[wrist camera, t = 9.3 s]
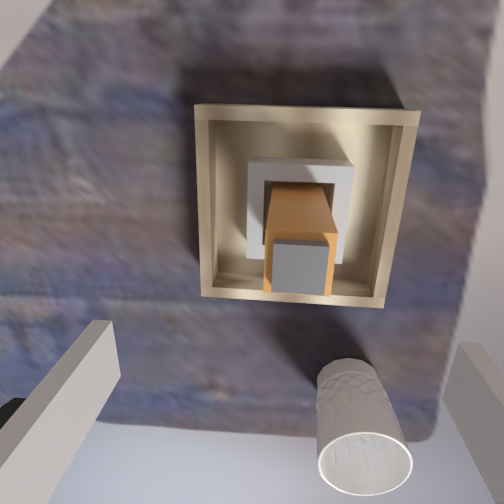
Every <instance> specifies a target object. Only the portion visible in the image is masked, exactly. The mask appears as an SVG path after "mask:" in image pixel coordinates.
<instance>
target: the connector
mask: <svg viewBox="0 0 504 504" xmlns="http://www.w3.org/2000/svg"><path fill="white" fill-rule="evenodd" d="M337 240H338V231H337V228H336V225H335V222H334V220H333V217H332V214H331V211H330V208H329V205H328V203H327V200H326V197H325V194H324V191H323V188H322V186H321V184H312V183H289V182H273V188H272V194H271V200H270V206H269V212H268V218H267V224H266V231H265V257H264V282H263V292H265V293H280V294H295V295H311V296H326V297H331V289H332V281H333V273H334V265H335V257H336V249H337Z"/></svg>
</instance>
